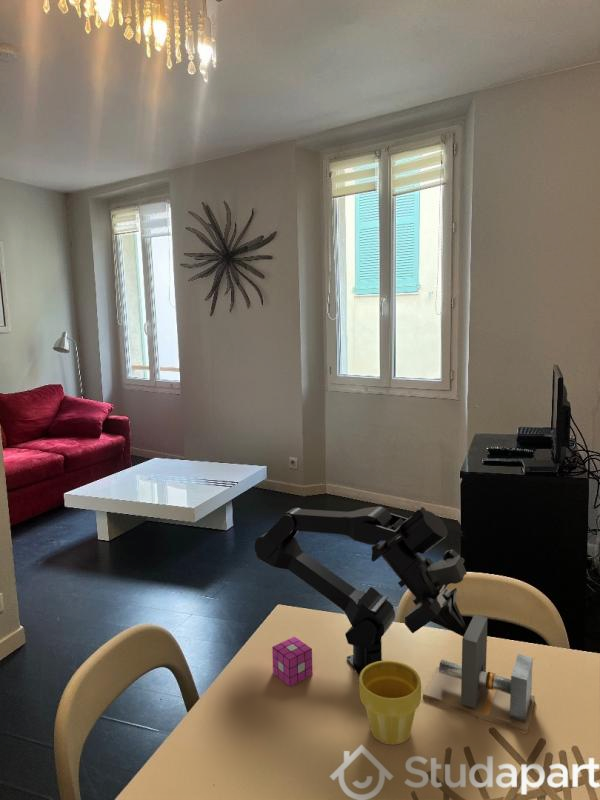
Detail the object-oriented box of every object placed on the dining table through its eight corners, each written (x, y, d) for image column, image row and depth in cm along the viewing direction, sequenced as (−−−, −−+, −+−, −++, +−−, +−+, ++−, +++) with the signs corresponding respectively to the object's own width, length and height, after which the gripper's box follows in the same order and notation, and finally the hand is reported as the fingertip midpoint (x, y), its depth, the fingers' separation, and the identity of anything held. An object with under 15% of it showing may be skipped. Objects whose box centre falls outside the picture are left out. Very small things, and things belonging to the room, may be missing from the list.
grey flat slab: (460, 703, 98) (462, 638, 96) (472, 675, 106) (474, 614, 104) (474, 708, 97) (476, 642, 95) (485, 679, 105) (487, 617, 103)
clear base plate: (422, 698, 102) (422, 693, 102) (436, 671, 110) (437, 666, 110) (527, 733, 93) (527, 727, 93) (534, 701, 101) (534, 695, 101)
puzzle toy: (272, 672, 111) (271, 646, 110) (295, 661, 114) (294, 635, 113) (290, 687, 106) (289, 660, 105) (312, 675, 110) (312, 648, 109)
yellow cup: (348, 719, 97) (348, 668, 96) (399, 703, 101) (399, 653, 100) (378, 762, 88) (378, 706, 86) (433, 742, 91) (434, 688, 90)
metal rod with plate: (435, 694, 102) (435, 653, 101) (445, 672, 108) (446, 634, 106) (525, 723, 94) (526, 680, 93) (531, 698, 100) (532, 657, 99)
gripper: (422, 562, 93) (489, 640, 89) (452, 525, 109) (509, 590, 105) (379, 595, 98) (440, 671, 94) (413, 555, 114) (466, 618, 110)
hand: (466, 635), depth 101 cm, fingers closed, pressing on grey flat slab
